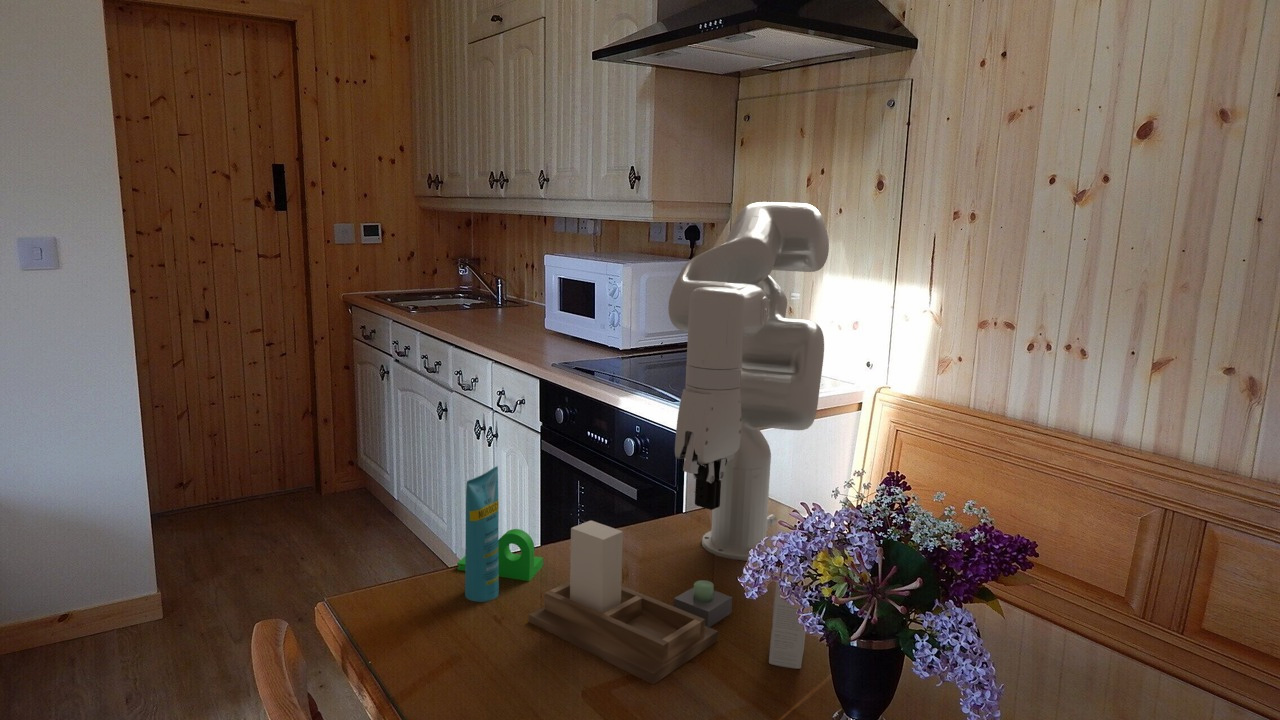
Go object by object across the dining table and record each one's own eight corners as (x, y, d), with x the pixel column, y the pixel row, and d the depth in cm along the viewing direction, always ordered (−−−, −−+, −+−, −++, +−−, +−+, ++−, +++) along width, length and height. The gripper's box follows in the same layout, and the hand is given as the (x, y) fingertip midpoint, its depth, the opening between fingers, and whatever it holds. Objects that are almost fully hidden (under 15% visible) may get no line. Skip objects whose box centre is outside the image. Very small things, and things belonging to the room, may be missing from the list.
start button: (700, 591, 121) (701, 578, 120) (716, 597, 119) (717, 584, 119) (689, 597, 119) (690, 584, 118) (705, 604, 117) (706, 590, 116)
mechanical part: (542, 569, 133) (543, 522, 131) (529, 585, 127) (529, 535, 126) (473, 560, 136) (473, 513, 134) (457, 575, 130) (456, 526, 128)
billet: (589, 599, 119) (590, 520, 117) (620, 612, 116) (622, 531, 114) (569, 608, 116) (571, 528, 114) (601, 623, 113) (603, 539, 110)
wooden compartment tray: (596, 591, 125) (597, 566, 125) (717, 641, 112) (718, 613, 111) (528, 624, 115) (528, 597, 114) (653, 684, 101) (654, 654, 100)
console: (697, 600, 123) (698, 584, 123) (731, 613, 120) (732, 597, 119) (673, 614, 119) (673, 598, 118) (707, 628, 115) (708, 611, 115)
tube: (484, 611, 118) (483, 482, 115) (454, 605, 119) (453, 477, 116) (508, 589, 125) (509, 467, 122) (480, 584, 126) (479, 463, 123)
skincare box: (772, 642, 112) (777, 558, 110) (806, 647, 111) (812, 562, 109) (767, 666, 106) (773, 577, 104) (803, 671, 105) (809, 582, 103)
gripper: (721, 367, 121) (715, 488, 124) (658, 381, 110) (653, 513, 113) (765, 375, 116) (758, 500, 120) (704, 389, 105) (698, 527, 108)
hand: (707, 506), depth 116 cm, fingers closed
